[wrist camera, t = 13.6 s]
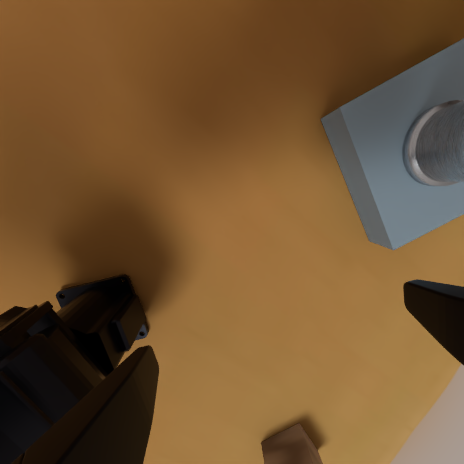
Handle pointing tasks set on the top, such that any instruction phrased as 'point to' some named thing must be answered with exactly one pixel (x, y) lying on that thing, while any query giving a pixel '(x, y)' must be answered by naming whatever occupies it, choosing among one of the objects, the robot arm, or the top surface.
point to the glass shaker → (436, 145)
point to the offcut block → (290, 448)
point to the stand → (396, 150)
